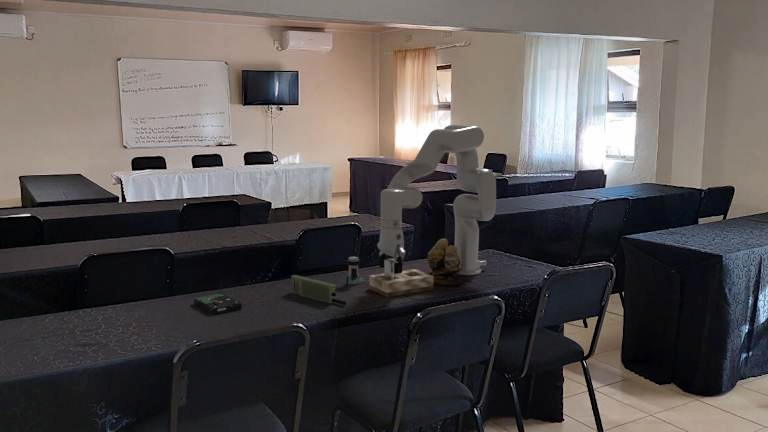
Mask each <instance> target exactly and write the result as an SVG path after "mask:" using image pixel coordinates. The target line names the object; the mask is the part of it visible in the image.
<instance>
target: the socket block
mask: <svg viewBox="0 0 768 432" xmlns="http://www.w3.org/2000/svg"><path fill="white" fill-rule="evenodd" d="M433 277H434V276H432V275H429V274H428V273H426V272H423V271H421V270H418V269H417V268H416V269H415V268H413V269H406V270H402V273H399V274H395V279H393V280H386V279H384V273H377V274H371V275H369V282H368V284H369V286H368V288H369V290H371V291H373V292H375V293H377V292H378V293H377V294H379V293H380V295H382V296H384V297H386V298H389V296H390V297H395V296H401V295H407V294H413V293H421V292H426V291H432V290H434V284H433Z"/></svg>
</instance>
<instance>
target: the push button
mask: <svg viewBox="0 0 768 432" xmlns="http://www.w3.org/2000/svg"><path fill="white" fill-rule="evenodd" d="M345 261H346V264H347V265H348V275H347V276H346V284H347V285H349V286H350V285H351V284H352V285H357V284H358V285H359V284H361V282H362V280H363V279H364V277H363V278H362V277H361V276H359V266H360V265H361V259H359V257H358V256H349V257H348V259H346V260H345Z"/></svg>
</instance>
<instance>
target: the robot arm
mask: <svg viewBox="0 0 768 432" xmlns="http://www.w3.org/2000/svg"><path fill="white" fill-rule="evenodd" d="M484 139H485V132H484V131H483V129H482V128H481V127H479V126H478V125H466V124H465V125H464V124H450V125H447V126H445V127H444V128H440V129H439V128H436V129H433V130H432V131H431V132H429V134H428V135H427V137H426V139H425V141H424V142H423V143H422V146H421V148H420V150H419V151H418V153H417V154H416V156H415V158H414V159H413V160H412V161H410V162H409V163H408V164H406V165H405V166H403V167H402V168H401V169H400V170H398V172H396V174H395V175H394V176H393V178H392V179H391V181H390V183H389V185H388V186H387V188H385V189H382V190H381V192H380V229H379V230H380V231H379V241H378V242H377V244H376V245H377V251H378V256H379V268H380V269H382V268H383V269H384V260H385V259H389V258H388V257H389V256H390V257H392V259H394V260H395V263H394V274H399V273H402V271H403V263H404V260H405V256H406V253H407V252H406V250H405V238H404V232H403V228H402V227H403V226H402V222H403V217H402V216H403V215H402V213H403V209H415V208H418V207H419V206H420V205H421V203H422V201H423V196H424V195H423V194H422V192H421V190H419V189H418V188H415V187H413V186H412V187H411V186H409V185H410V184H411V183H412V182H414V181H415V180H417V179H420V178H422V177H423V178H424V177H427V176H428V175H431V174H433V173H434V172H435V171H436V169H437V168H438V166H439V163H441V160H442V158H443V157H444V155H445V154H446V153H448V154H449V153H450V154H454V155H455V157H456V159H455V160H456V183H457V187H458V189H459V190H461V191H464V192H469V193H463V194H459V195H458V196H456V197H455V199H454V201H453V204H452V207H453V208H452V209H453V215H454V223H455V224H454V246H455V247H457V255H458V256H459V258H460V265H459V267H462V270H461V271H459V273H457V274H456V275H461V276H476V275H480V274H481V273H482V269H481V266H487V264H488V263H487V262H488V261H487V260H479V243H480V242H479V241H480V240H479V239H480V236H479V235H480V228H479V224H478V222H477V221H482V222H483V221H484V222H488V221H491V220H492V219H493V218H494V216H495V215H496V209H497V179H496V176H495V173H494V172H492V171H491V170H490V169H487V168H480V167H479V155H478V151H477V149H478V148H479V147H481V145H482V144H483V142H484ZM470 192H471V193H475V194H470ZM476 193H477V194H476Z"/></svg>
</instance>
